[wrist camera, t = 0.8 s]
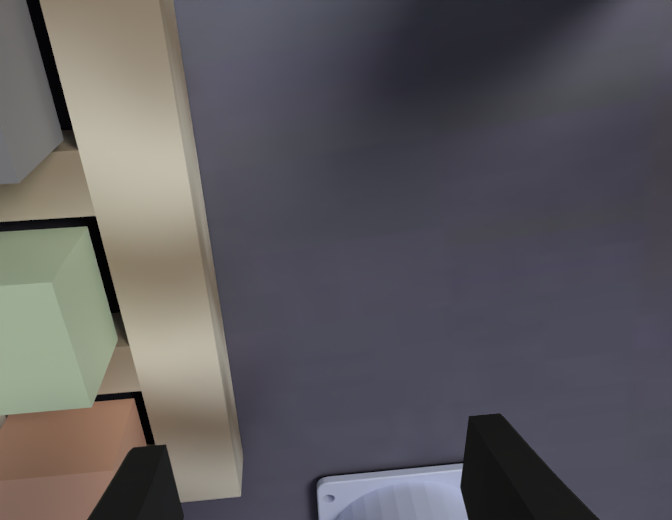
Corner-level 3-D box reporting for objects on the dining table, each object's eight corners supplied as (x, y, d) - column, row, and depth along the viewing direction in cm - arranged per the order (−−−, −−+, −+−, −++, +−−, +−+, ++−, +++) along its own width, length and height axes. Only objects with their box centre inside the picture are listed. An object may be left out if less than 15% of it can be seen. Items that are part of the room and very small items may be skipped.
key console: (243, 456, 24) (240, 496, 22) (-4, 479, 23) (-26, 523, 21) (156, -110, 14) (140, -116, 12) (-281, -100, 13) (-364, -106, 11)
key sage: (117, 339, 18) (91, 407, 15) (-14, 349, 18) (-63, 420, 15) (87, 226, 16) (51, 282, 13) (-62, 235, 16) (-128, 295, 13)
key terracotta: (155, 478, 21) (139, 553, 19) (45, 488, 21) (13, 567, 18) (133, 398, 19) (112, 470, 17) (11, 408, 19) (-30, 484, 16)
